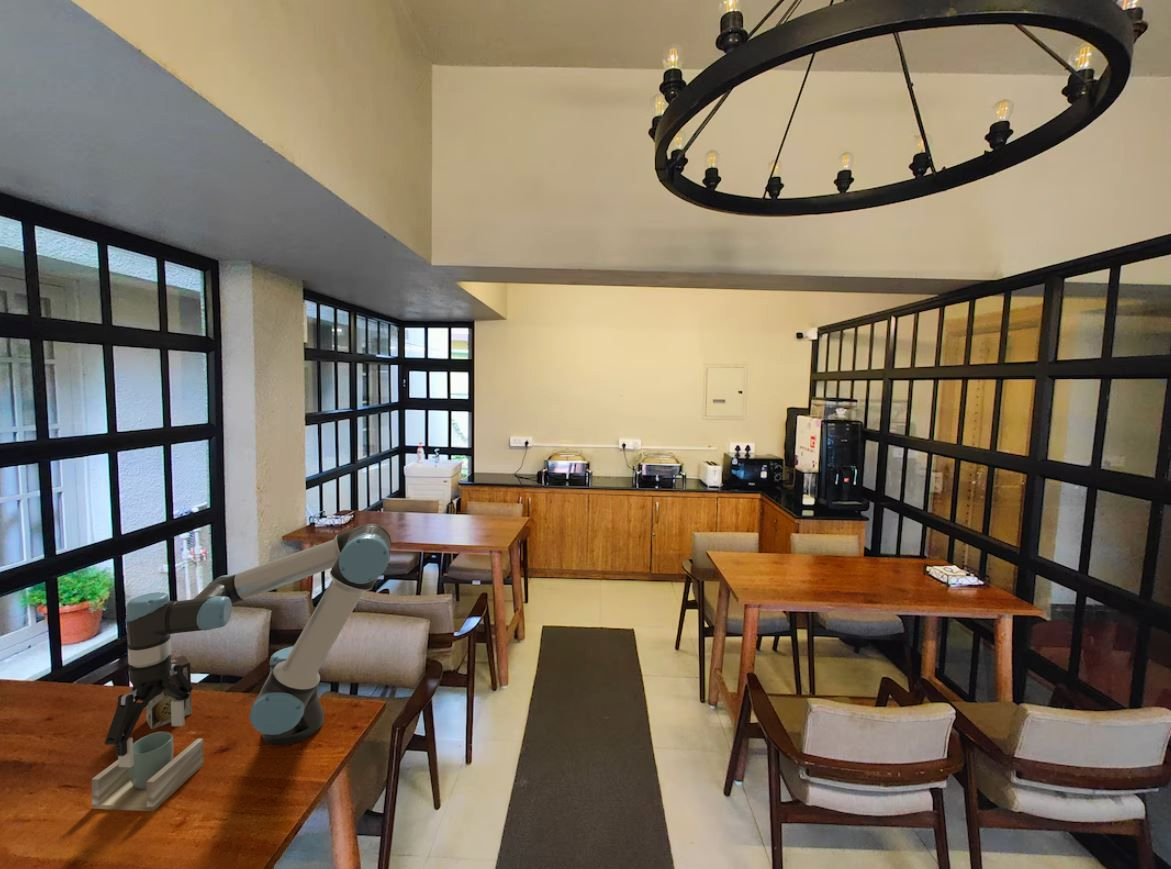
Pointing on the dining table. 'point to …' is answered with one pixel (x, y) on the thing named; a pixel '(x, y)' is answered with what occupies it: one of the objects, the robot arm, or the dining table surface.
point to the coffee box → (168, 699)
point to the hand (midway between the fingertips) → (153, 744)
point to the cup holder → (120, 794)
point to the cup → (150, 757)
